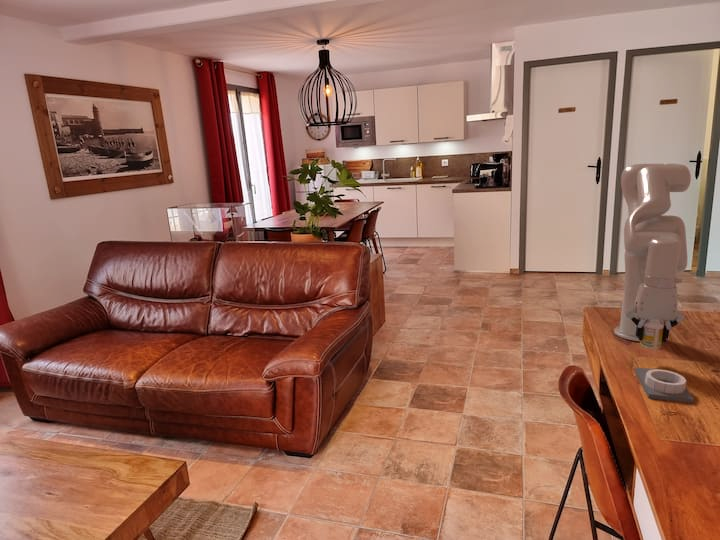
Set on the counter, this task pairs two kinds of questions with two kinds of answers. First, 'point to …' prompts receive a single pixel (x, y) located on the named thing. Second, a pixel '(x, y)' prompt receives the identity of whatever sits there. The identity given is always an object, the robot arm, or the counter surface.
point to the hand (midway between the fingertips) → (651, 338)
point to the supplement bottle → (652, 333)
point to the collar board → (659, 394)
